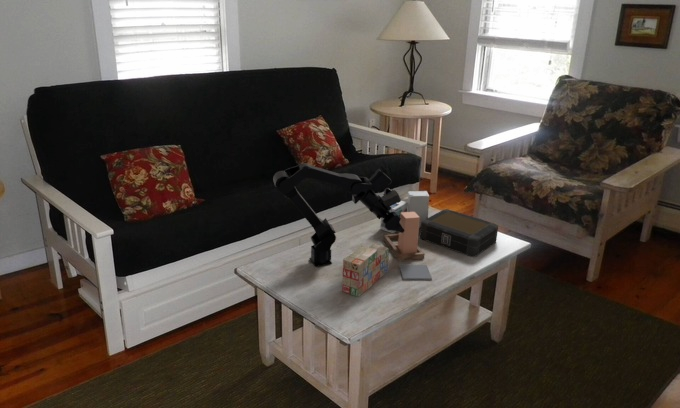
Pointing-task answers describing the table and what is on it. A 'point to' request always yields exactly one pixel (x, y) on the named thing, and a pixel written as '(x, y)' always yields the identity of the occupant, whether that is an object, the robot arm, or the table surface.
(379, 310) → the table surface
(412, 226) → the terracotta block
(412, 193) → the skincare box
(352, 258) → the stack of blocks
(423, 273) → the slate mat
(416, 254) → the walnut rack
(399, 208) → the light bulb box
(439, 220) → the cash box
